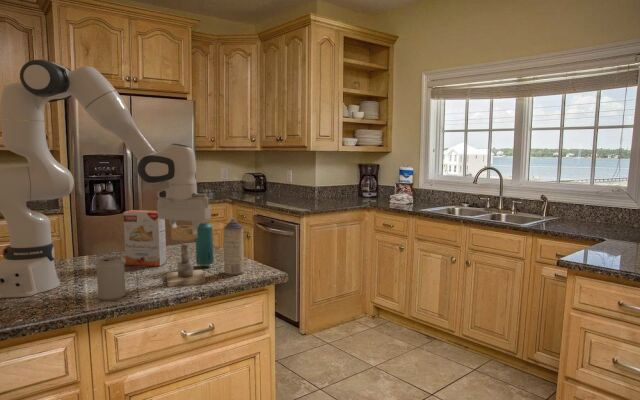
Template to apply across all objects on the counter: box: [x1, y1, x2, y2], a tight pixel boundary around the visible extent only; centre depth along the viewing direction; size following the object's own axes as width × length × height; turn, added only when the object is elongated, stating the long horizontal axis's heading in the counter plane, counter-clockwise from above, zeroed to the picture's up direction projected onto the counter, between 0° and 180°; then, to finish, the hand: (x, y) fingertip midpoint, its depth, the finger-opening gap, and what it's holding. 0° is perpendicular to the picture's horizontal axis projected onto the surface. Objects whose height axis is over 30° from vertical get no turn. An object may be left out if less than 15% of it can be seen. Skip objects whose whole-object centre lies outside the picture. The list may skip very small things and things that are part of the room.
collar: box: [170, 224, 198, 242], centre depth 148 cm, size 6×6×4 cm
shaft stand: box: [166, 244, 207, 288], centre depth 149 cm, size 12×12×12 cm
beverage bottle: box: [195, 222, 215, 266], centre depth 166 cm, size 6×7×20 cm
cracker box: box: [123, 209, 167, 267], centre depth 168 cm, size 14×6×21 cm, turn 83°
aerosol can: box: [223, 217, 245, 277], centre depth 158 cm, size 7×7×20 cm
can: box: [96, 256, 126, 302], centre depth 131 cm, size 8×8×12 cm
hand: (184, 233), depth 148 cm, fingers closed on collar, 6 cm apart
